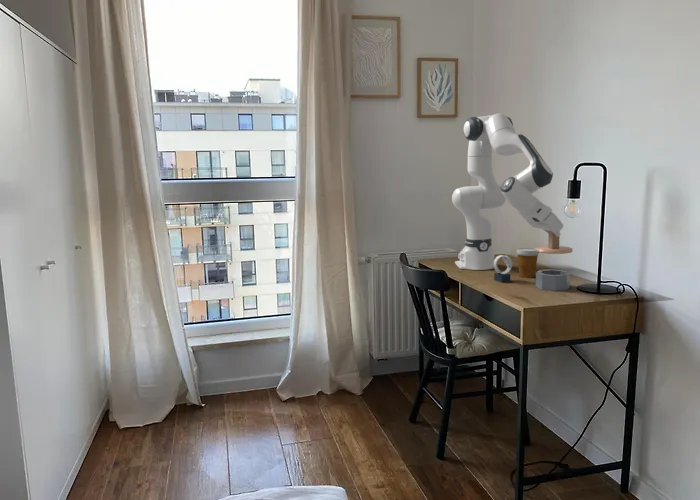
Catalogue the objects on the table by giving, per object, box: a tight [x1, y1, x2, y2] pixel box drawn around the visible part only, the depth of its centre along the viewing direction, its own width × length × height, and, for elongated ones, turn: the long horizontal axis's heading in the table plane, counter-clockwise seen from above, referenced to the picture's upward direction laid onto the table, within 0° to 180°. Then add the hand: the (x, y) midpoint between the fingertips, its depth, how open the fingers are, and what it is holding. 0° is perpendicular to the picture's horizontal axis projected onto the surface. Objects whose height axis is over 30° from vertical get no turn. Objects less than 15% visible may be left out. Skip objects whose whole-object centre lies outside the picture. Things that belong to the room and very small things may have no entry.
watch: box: [493, 254, 513, 284], centre depth 241 cm, size 6×8×11 cm
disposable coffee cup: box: [516, 247, 540, 279], centre depth 249 cm, size 10×10×12 cm
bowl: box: [535, 269, 571, 292], centre depth 228 cm, size 12×12×6 cm
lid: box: [534, 230, 573, 255], centre depth 225 cm, size 14×14×10 cm
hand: (555, 234), depth 225 cm, fingers closed on lid, 3 cm apart
